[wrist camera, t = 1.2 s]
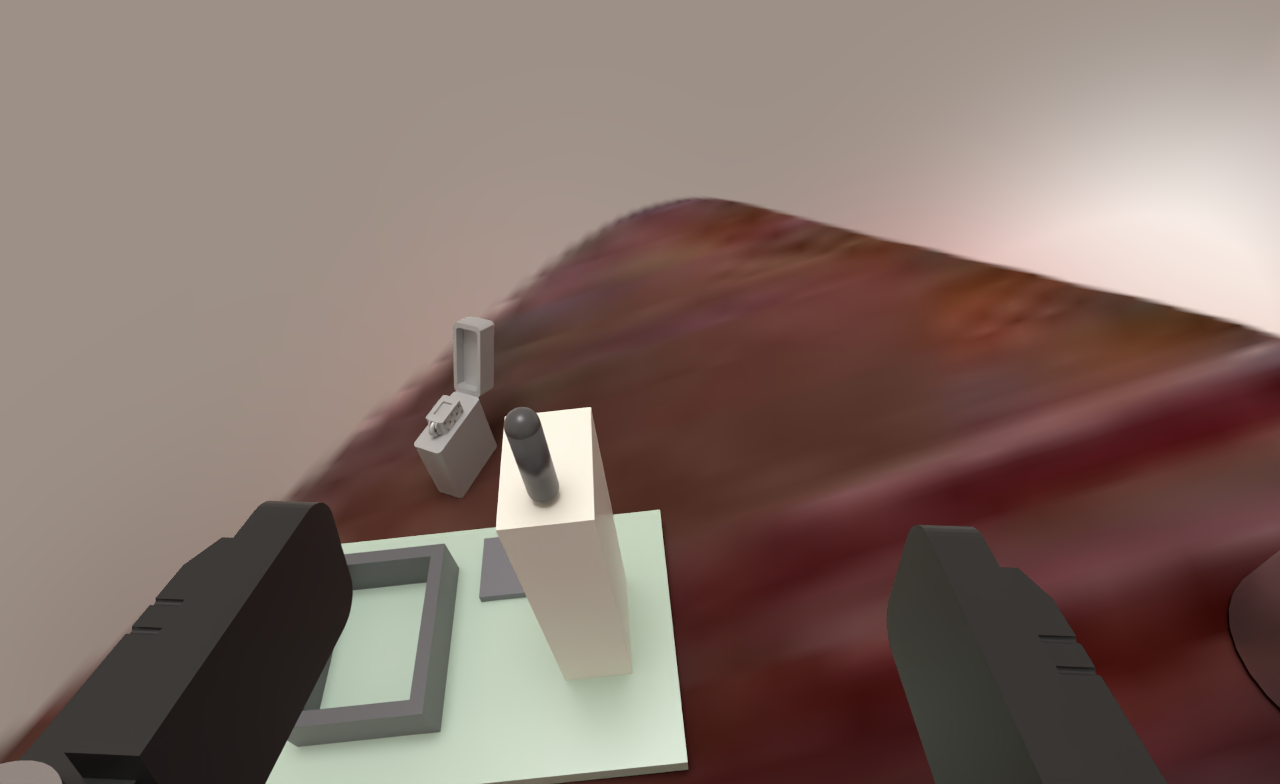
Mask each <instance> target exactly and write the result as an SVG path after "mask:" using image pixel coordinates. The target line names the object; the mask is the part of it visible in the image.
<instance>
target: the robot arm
mask: <svg viewBox="0 0 1280 784" xmlns="http://www.w3.org/2000/svg"><path fill="white" fill-rule="evenodd" d="M352 597H353V586H352V580H351V576H350V572H349V569H348V566H347V562H346V559H345V555H344V552H343V549H342V545H341V542H340V538H339V535H338V532H337V528H336V525H335V521H334V518H333V515H332V512H331V510H330V508H329V507H328V506H327V505H326V504H324V503H317V502H288V501H267V502H264V503H263V504H261V505H260V506H259V507H258V508H257V509H256V510H255V511H254V512H253V514H252V515H251V516H250V517H249V519H248V520H247V521H246V523H245V524H244V525H243V526H242V527H241V529H240V530H239V531H238V533H237V534H236V535H235V536H234V538H221V539H219V540H218V541H217V542H215V543H214V544H212V545H211V546H210V547H208V548H207V549H205V550H204V551H203V552H201V553H200V554H198V555H197V556H196V557H194V558H193V559H191V560H190V561H189V562H187V563H186V564H184V565H183V566H182V568H181V569H180V570H179V571H178V572H177V573H176V575H175V576H174V577H173V578H172V579H171V581H170V582H169V583H168V584H167V585H166V587H165V588H164V589H163V590H162V591H161V592H160V594H159V595H158V596H157V597H156V602H155V604H154V605H150V606H149V607H148V608H147V609H146V610H145V612H144V613H143V614H142V615H141V616H140V618H139V619H138V620H137V621H136V622H135V623H134V625H133V626H132V632H131V633H130V634H125V635H124V637H123V638H122V639H121V640H120V641H119V643H118V644H117V645H116V646H115V647H114V649H113V650H112V651H111V652H110V653H109V654H108V656H107V657H106V658H105V659H104V660H103V662H102V663H101V664H100V665H99V666H98V668H97V669H96V670H95V671H94V672H93V674H92V675H91V676H90V677H89V678H88V679H87V681H86V682H85V683H84V684H83V685H82V687H81V688H80V689H79V690H78V691H77V693H76V694H75V695H74V696H73V697H72V699H71V700H70V701H69V702H68V703H67V705H66V706H65V707H64V708H63V709H62V710H61V712H60V713H59V714H58V715H57V716H56V718H55V719H54V720H53V721H52V722H51V724H50V725H49V726H48V727H47V728H46V730H45V731H44V732H43V733H42V734H41V736H40V737H39V738H38V739H37V740H36V741H35V743H34V744H33V745H32V746H31V747H30V748H29V749H28V750H27V752H26V753H25V754H24V755H23V756H22V757H21V758H20V759H19V760H18V761H14V762H7V763H3V764H0V784H265V783H266V781H267V780H268V778H269V776H270V774H271V772H272V770H273V768H274V766H275V764H276V762H277V760H278V758H279V756H280V754H281V752H282V750H283V748H284V746H285V744H286V742H287V740H288V738H289V736H290V734H291V732H292V730H293V728H294V726H295V724H296V722H297V720H298V718H299V716H300V714H301V712H302V711H303V709H304V707H305V705H306V703H307V701H308V699H309V697H310V695H311V693H312V691H313V689H314V687H315V685H316V683H317V681H318V679H319V677H320V675H321V673H322V671H323V669H324V667H325V665H326V663H327V661H328V659H329V657H330V655H331V653H332V651H333V649H334V647H335V645H336V643H337V642H338V640H339V638H340V636H341V634H342V632H343V630H344V628H345V625H346V623H347V621H348V618H349V614H350V610H351V605H352ZM1229 622H1230V630H1231V633H1232V637H1233V640H1234V643H1235V646H1236V649H1237V651H1238V653H1239V655H1240V656H1241V658H1242V660H1243V662H1244V664H1245V666H1246V667H1247V669H1248V671H1249V673H1250V674H1251V675H1252V677H1253V678H1254V679H1255V680H1256V682H1257V683H1258V684H1259V686H1260V687H1261V688H1262V689H1263V691H1264V692H1265V693H1266V695H1267V696H1268V697H1269V698H1270V699H1271V700H1272V701H1273V702H1274V703H1275V704H1276V705H1277V706H1278V707H1279V708H1280V550H1279V551H1278V552H1277V553H1275V554H1274V555H1273V556H1272V557H1270V558H1269V559H1268V560H1267V561H1265V562H1264V563H1263V564H1262V565H1260V566H1259V567H1258V568H1257V569H1255V570H1254V571H1253V572H1252V573H1250V574H1249V575H1248V576H1246V577H1245V578H1244V579H1243V580H1242V581H1241V582H1240V583H1239V585H1238V586H1237V588H1236V589H1235V591H1234V592H1233V594H1232V598H1231V602H1230V606H1229ZM887 630H888V638H889V643H890V647H891V651H892V654H893V657H894V660H895V663H896V666H897V669H898V672H899V675H900V678H901V681H902V684H903V687H904V690H905V693H906V696H907V699H908V702H909V705H910V708H911V711H912V714H913V717H914V720H915V723H916V726H917V729H918V732H919V735H920V738H921V742H922V745H923V748H924V751H925V754H926V757H927V760H928V763H929V766H930V769H931V772H932V775H933V778H934V781H935V784H1167V782H1166V780H1165V779H1164V777H1163V776H1162V774H1161V772H1160V771H1159V769H1158V767H1157V766H1156V764H1155V763H1154V761H1153V759H1152V758H1151V756H1150V755H1149V753H1148V751H1147V750H1146V748H1145V747H1144V745H1143V743H1142V742H1141V740H1140V738H1139V737H1138V735H1137V734H1136V732H1135V730H1134V729H1133V727H1132V726H1131V724H1130V722H1129V721H1128V719H1127V718H1126V716H1125V714H1124V713H1123V711H1122V710H1121V708H1120V706H1119V705H1118V703H1117V701H1116V700H1115V698H1114V697H1113V695H1112V693H1111V692H1110V690H1109V689H1108V687H1107V685H1106V684H1105V682H1104V681H1103V679H1102V677H1101V676H1097V675H1096V673H1095V666H1094V664H1093V663H1092V661H1091V660H1090V658H1089V656H1088V655H1087V653H1086V652H1085V650H1084V648H1083V647H1082V645H1081V644H1077V642H1076V635H1075V634H1074V632H1073V631H1072V629H1071V627H1070V626H1069V624H1068V623H1067V621H1066V619H1065V618H1064V616H1063V614H1062V613H1061V611H1060V610H1059V608H1058V606H1057V605H1056V603H1055V602H1054V600H1053V599H1052V598H1051V597H1050V596H1049V595H1048V594H1046V593H1045V592H1044V591H1043V590H1042V589H1041V588H1040V587H1039V586H1037V585H1036V584H1035V583H1034V582H1033V581H1032V580H1031V579H1030V578H1028V577H1027V576H1026V575H1025V574H1024V573H1023V572H1022V571H1021V570H1020V569H1018V568H1004V567H999V565H998V563H997V561H996V559H995V558H994V556H993V554H992V552H991V551H990V549H989V547H988V545H987V543H986V542H985V540H984V538H983V537H982V535H981V533H980V532H979V531H978V530H977V529H975V528H974V527H967V526H937V525H914V526H913V527H912V528H911V529H910V531H909V533H908V536H907V539H906V542H905V546H904V549H903V553H902V556H901V560H900V563H899V567H898V570H897V574H896V577H895V581H894V584H893V588H892V591H891V595H890V598H889V602H888V608H887Z"/></svg>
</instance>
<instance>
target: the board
mask: <svg viewBox="0 0 1280 784" xmlns="http://www.w3.org/2000/svg"><path fill="white" fill-rule="evenodd" d="M613 518H614V522H615V527H616V532H617V537H618V542H619V547H620V551H621V556H622V561H623V566H624V571H625V576H626V582H627V597H628V613H629V628H630V643H631V658H632V674H623V675H613V676H604V677H594V678H585V679H575V680H566V681H565V679H564V676H563V674H562V672H561V670H560V668H559V666H558V664H557V661H556V659H555V657H554V655H553V653H552V651H551V648H550V646H549V644H548V642H547V640H546V638H545V635H544V633H543V631H542V629H541V627H540V625H539V623H538V620H537V618H536V616H535V614H534V612H533V610H532V607H531V605H530V603H529V601H528V599H527V597H526V595H525V592H524V590H523V588H522V586H521V584H520V582H519V579H518V577H517V575H516V573H515V571H514V569H513V566H512V564H511V562H510V560H509V558H508V556H507V554H506V551H505V549H504V547H503V545H502V543H501V541H500V538H499V536H498V534H497V532H496V527H495V528H485V529H476V530H467V531H458V532H448V533H439V534H430V535H420V536H411V537H402V538H393V539H383V540H374V541H365V542H355V543H346V544H341V545H342V549H343V552H344V555H345V559H346V562H347V566H348V569H349V572H350V576H351V580H352V586H353V597H352V605H351V610H350V614H349V618H348V621H347V623H346V625H345V628H344V630H343V632H342V634H341V636H340V638H339V640H338V642H337V643H336V645H335V647H334V649H333V651H332V653H331V655H330V657H329V659H328V661H327V663H326V665H325V667H324V669H323V671H322V673H321V675H320V677H319V679H318V681H317V683H316V685H315V687H314V689H313V691H312V693H311V695H310V697H309V699H308V701H307V703H306V705H305V707H304V709H303V711H302V712H301V714H300V716H299V718H298V720H297V722H296V724H295V726H294V728H293V730H292V732H291V734H290V736H289V738H288V740H287V742H286V744H285V746H284V748H283V750H282V752H281V754H280V756H279V758H278V760H277V762H276V764H275V766H274V768H273V770H272V772H271V774H270V776H269V778H268V780H267V781H266V783H265V784H555V783H565V782H574V781H584V780H594V779H603V778H613V777H622V776H632V775H642V774H651V773H661V772H671V771H680V770H688V761H687V752H686V743H685V734H684V725H683V716H682V707H681V698H680V688H679V679H678V670H677V661H676V652H675V643H674V634H673V625H672V616H671V607H670V597H669V588H668V579H667V570H666V561H665V552H664V543H663V534H662V525H661V516H660V510H653V511H644V512H634V513H625V514H616V515H613Z"/></svg>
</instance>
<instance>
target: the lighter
mask: <svg viewBox="0 0 1280 784" xmlns="http://www.w3.org/2000/svg"><path fill="white" fill-rule="evenodd" d="M453 349H454V388H455V390H456V392H453V393H452V394H451V396H446V395H443V396H442V397H441V398H440V400H439V401H438V402H437V404H436V405H435V406H434V407H433V409H432V410H431V411H430V413H429V414H428V415H427V416H426V420H427V422H428V426H427V427H426V428H425V430H424V431H423V432H422V434H421V435H420V436H419V437H418V439H417V440H416V441H415V443H414V445H415V448H416V450H417V451H418V453H419V455H420V457H421V459H422V461H423V463H424V464H425V466H426V468H427V470H428V472H429V474H430V476H431V477H432V479H433V481H434V483H435V485H436V487H437V489H438V490H439V492H442V493H445V494H448V495H451V496H454V497H457V498H462V497H464V495H465V494H466V492H467V491H468V489H469V488H470V486H471V485H472V483H473V482H474V480H475V479H476V477H477V476H478V474H479V473H480V471H481V470H482V468H483V467H484V465H485V464H486V462H487V461H488V459H489V458H490V456H491V455H492V453H493V452H494V450H495V449H496V447H497V445H496V442H495V440H494V437H493V435H492V432H491V429H490V427H489V424H488V422H487V419H486V417H485V414H484V411H483V409H482V406H481V404H480V401H479V399H478V397H479V396H481V395H482V394H484V393H485V392H487V391H489V390H490V389H492V388H493V387H494V324H493V322H492V321H490V320H486V319H481V318H477V317H473V316H469V317H466V318H464V319H462V320H459V321H457V322H455V323H454V324H453Z"/></svg>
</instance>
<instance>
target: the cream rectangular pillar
mask: <svg viewBox="0 0 1280 784" xmlns="http://www.w3.org/2000/svg"><path fill="white" fill-rule="evenodd" d="M496 532H497V534H498V536H499V538H500V541H501V543H502V545H503V547H504V549H505V551H506V554H507V556H508V558H509V560H510V562H511V564H512V566H513V569H514V571H515V573H516V575H517V577H518V579H519V582H520V584H521V586H522V588H523V590H524V592H525V595H526V597H527V599H528V601H529V603H530V605H531V607H532V610H533V612H534V614H535V616H536V618H537V620H538V623H539V625H540V627H541V629H542V631H543V633H544V635H545V638H546V640H547V642H548V644H549V646H550V648H551V651H552V653H553V655H554V657H555V659H556V661H557V664H558V666H559V668H560V670H561V672H562V674H563V676H564V679H565V681H566V680H575V679H585V678H594V677H604V676H613V675H623V674H632V658H631V643H630V628H629V613H628V597H627V582H626V576H625V571H624V566H623V561H622V556H621V551H620V547H619V542H618V537H617V532H616V527H615V522H614V518H613V513H612V508H611V503H610V498H609V493H608V488H607V484H606V479H605V474H604V469H603V464H602V459H601V454H600V450H599V445H598V440H597V435H596V430H595V425H594V421H593V416H592V411H591V407H588V408H579V409H570V410H560V411H551V412H542V413H536V412H535V411H533V410H532V409H530V408H527V407H518V408H515V409H513V410H512V411H510V412H509V413H508V414H507V416H505V419H504V432H503V444H502V457H501V470H500V483H499V496H498V508H497V521H496Z"/></svg>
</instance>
